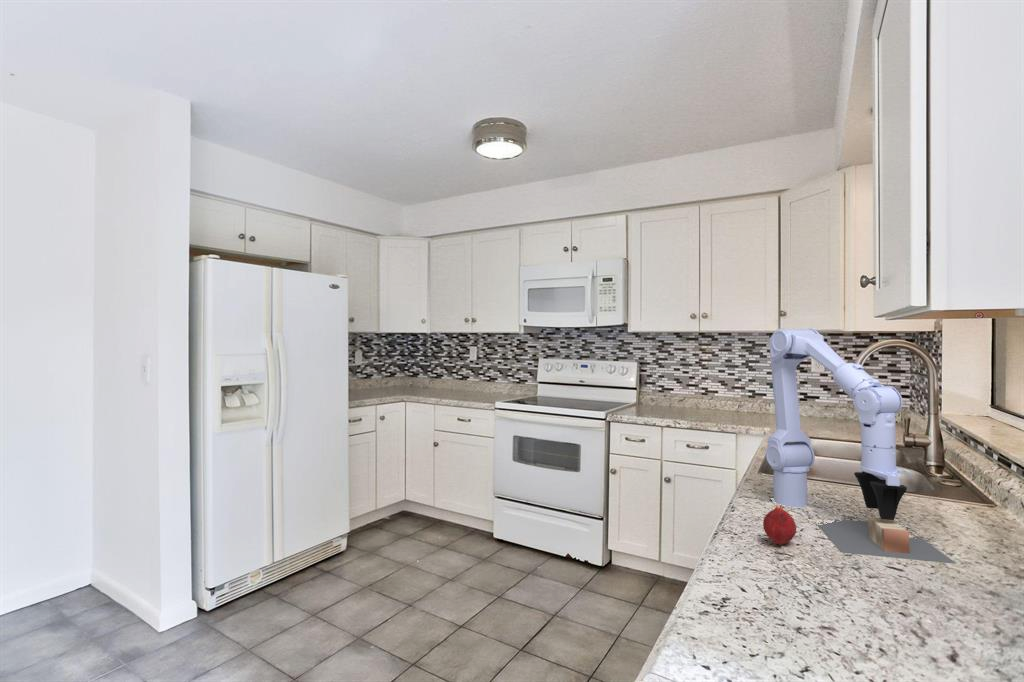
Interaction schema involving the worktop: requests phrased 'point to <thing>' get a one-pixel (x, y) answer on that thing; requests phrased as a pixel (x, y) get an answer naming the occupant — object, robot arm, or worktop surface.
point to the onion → (779, 525)
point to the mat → (857, 541)
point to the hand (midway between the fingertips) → (879, 513)
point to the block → (888, 535)
